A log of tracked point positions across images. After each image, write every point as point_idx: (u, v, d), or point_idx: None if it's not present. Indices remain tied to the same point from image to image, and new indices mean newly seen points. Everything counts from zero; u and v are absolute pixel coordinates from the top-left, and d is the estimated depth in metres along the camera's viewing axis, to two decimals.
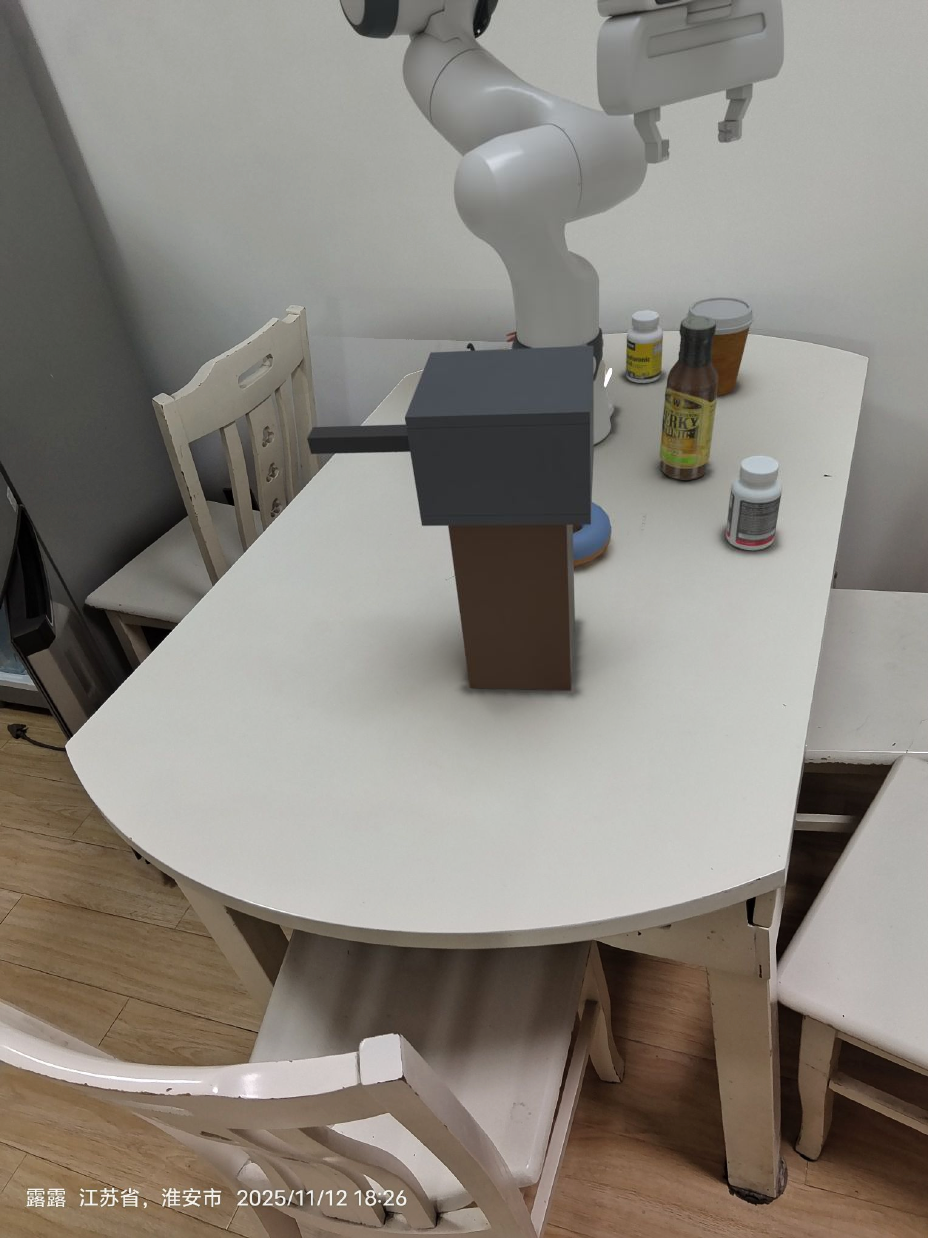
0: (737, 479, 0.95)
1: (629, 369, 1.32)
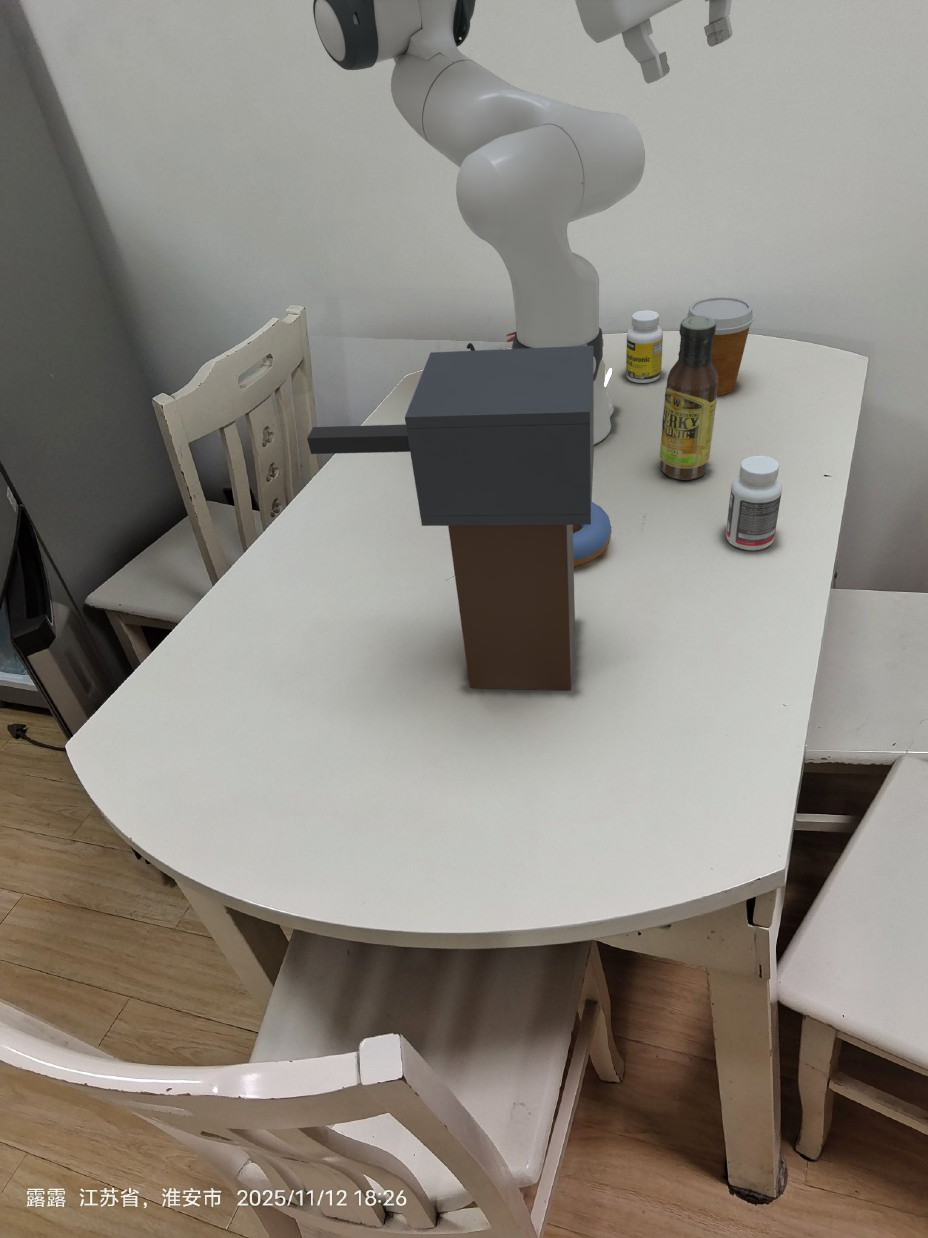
0: (737, 479, 0.95)
1: (629, 369, 1.32)
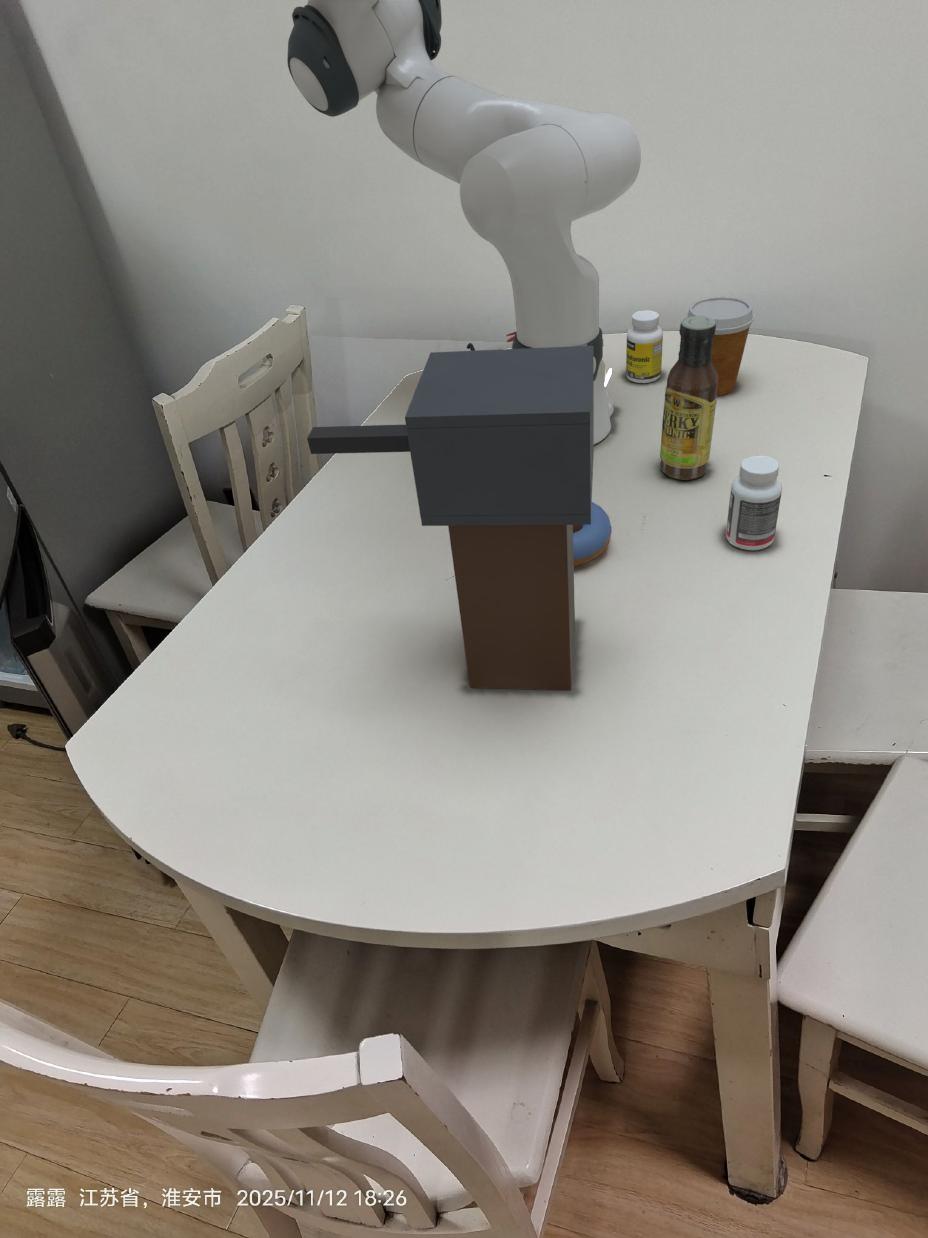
0: (737, 479, 0.95)
1: (629, 369, 1.32)
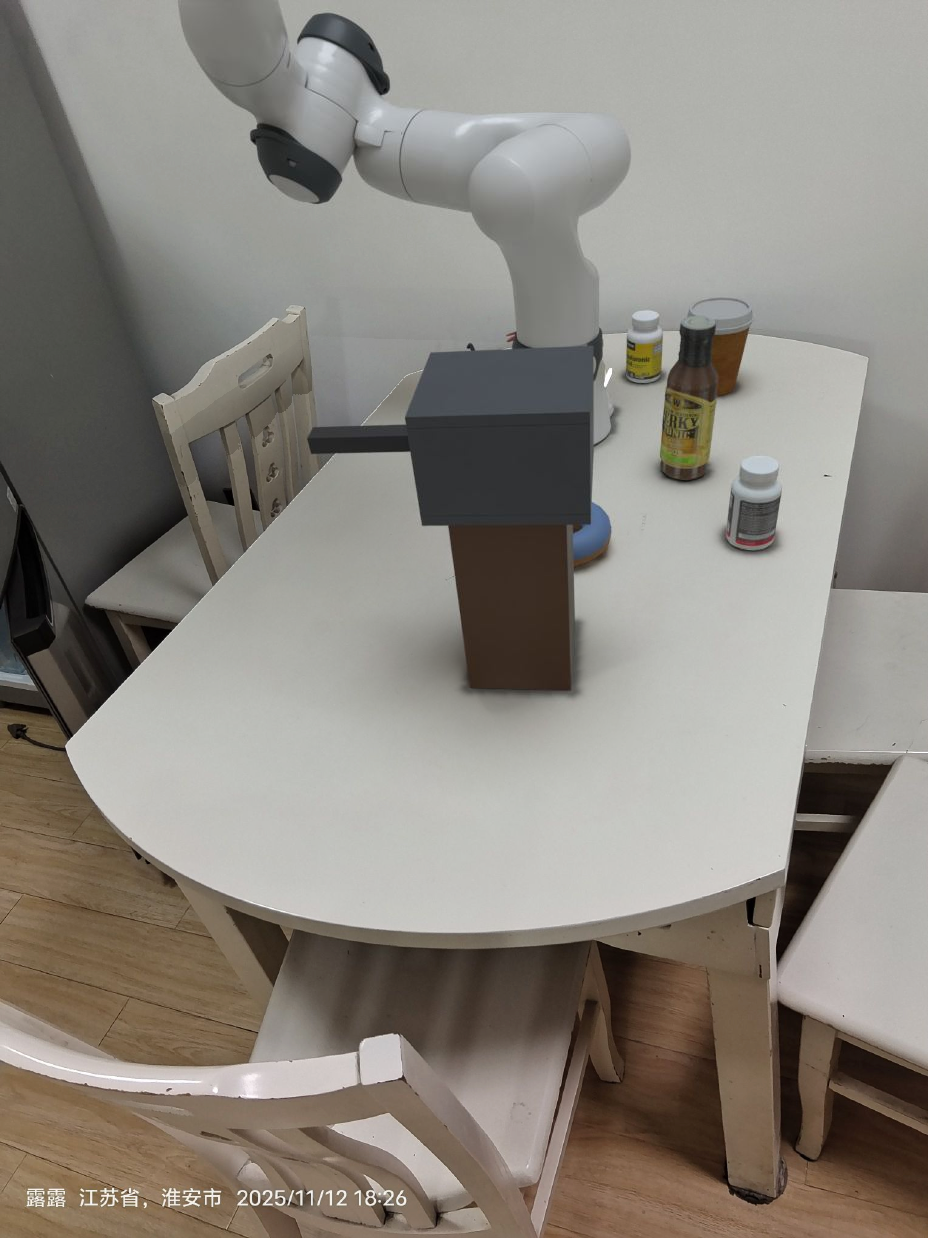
0: (737, 479, 0.95)
1: (629, 369, 1.32)
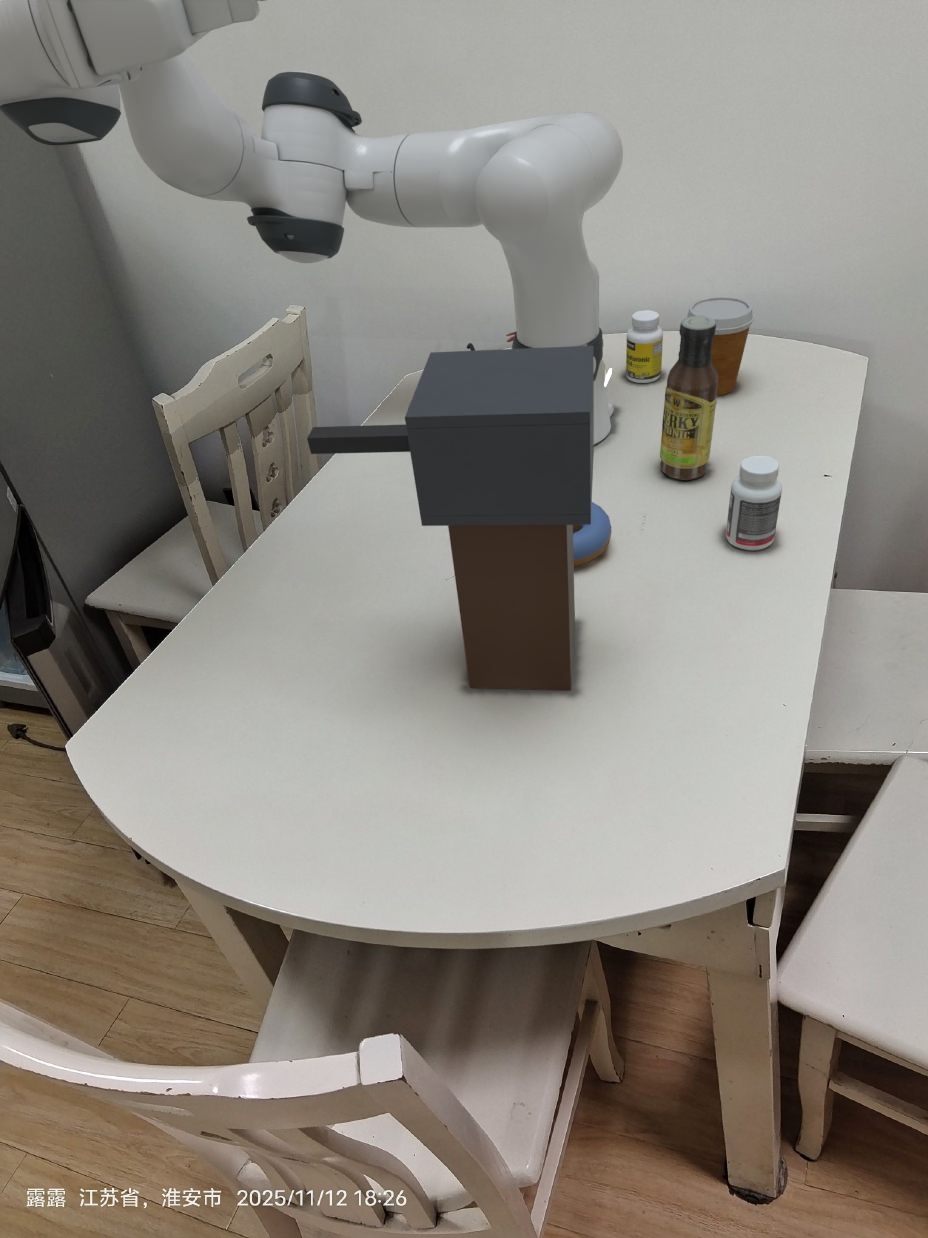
0: (737, 479, 0.95)
1: (629, 369, 1.32)
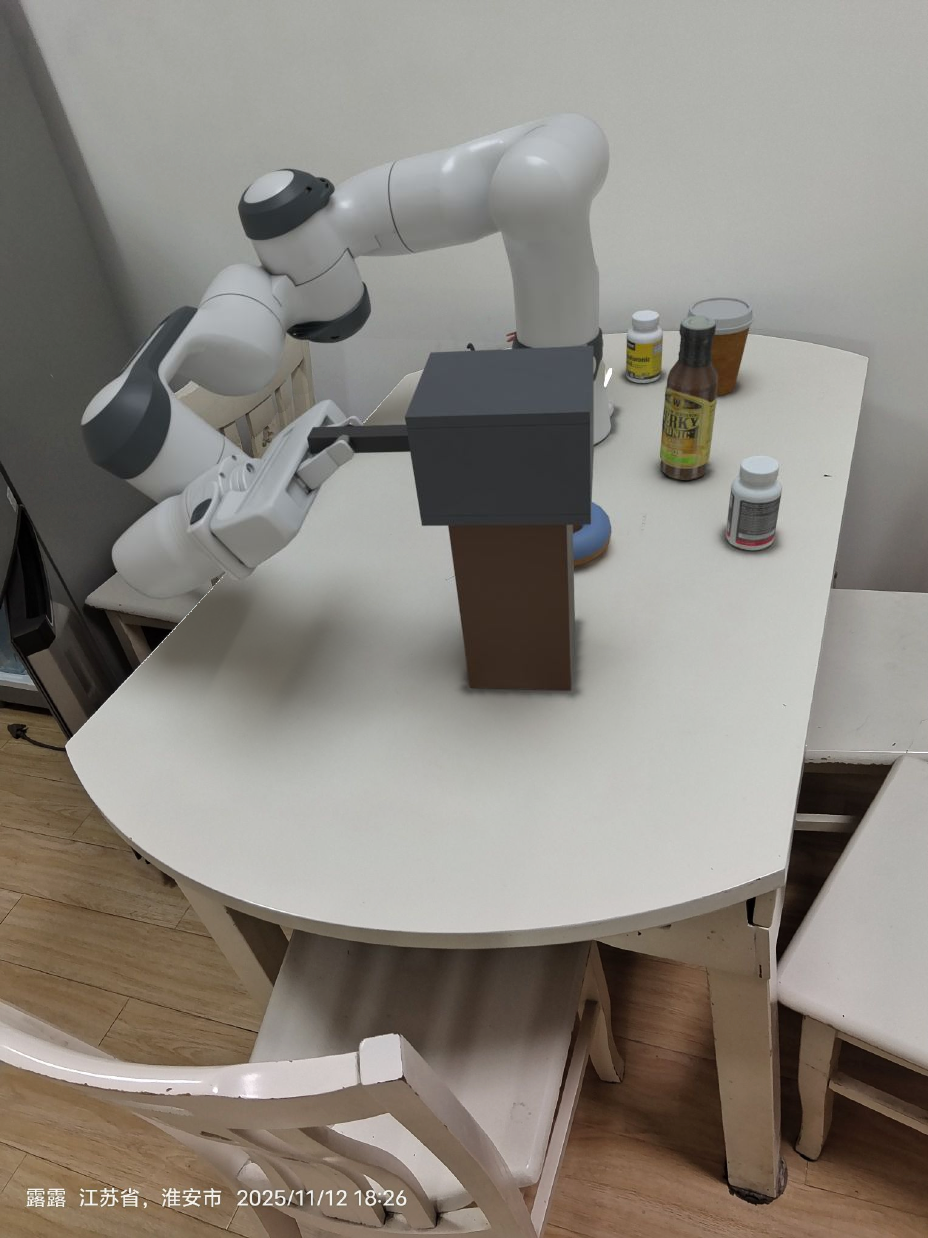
0: (737, 479, 0.95)
1: (629, 369, 1.32)
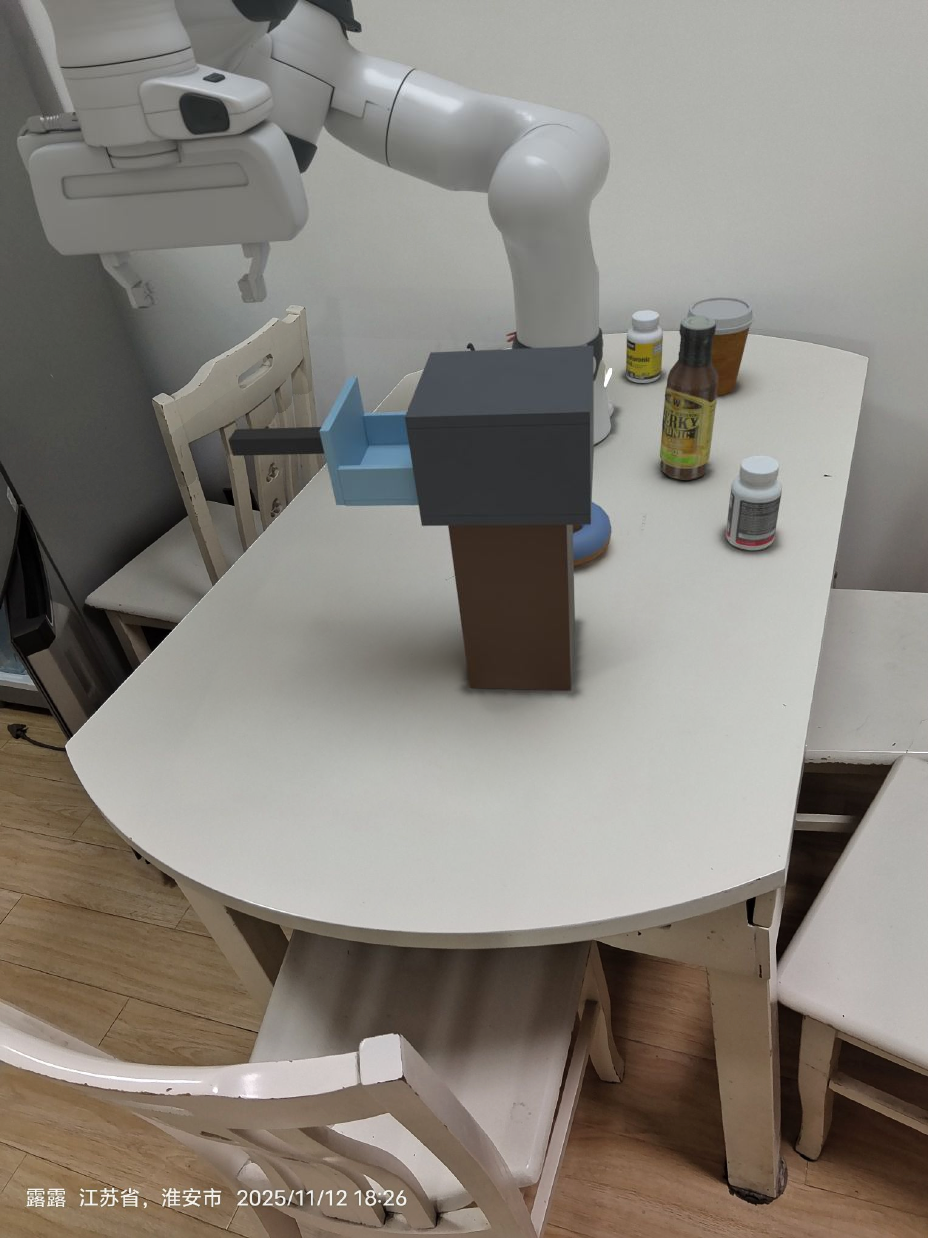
0: (737, 479, 0.95)
1: (629, 369, 1.32)
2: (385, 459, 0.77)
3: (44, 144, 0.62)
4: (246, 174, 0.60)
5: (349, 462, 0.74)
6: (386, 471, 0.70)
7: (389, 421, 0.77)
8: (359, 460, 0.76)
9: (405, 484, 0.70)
